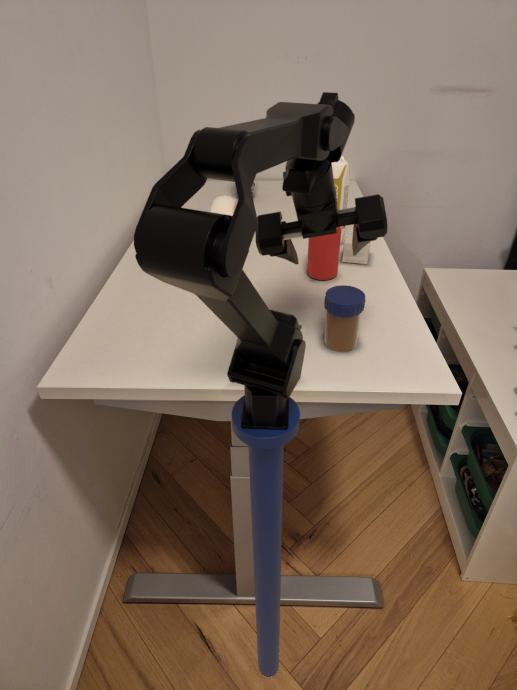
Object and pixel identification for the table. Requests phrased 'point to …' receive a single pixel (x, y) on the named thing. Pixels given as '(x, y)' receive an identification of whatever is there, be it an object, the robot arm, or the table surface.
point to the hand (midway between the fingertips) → (325, 257)
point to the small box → (348, 252)
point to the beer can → (324, 256)
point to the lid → (344, 301)
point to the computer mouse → (224, 205)
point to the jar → (341, 332)
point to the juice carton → (341, 185)
